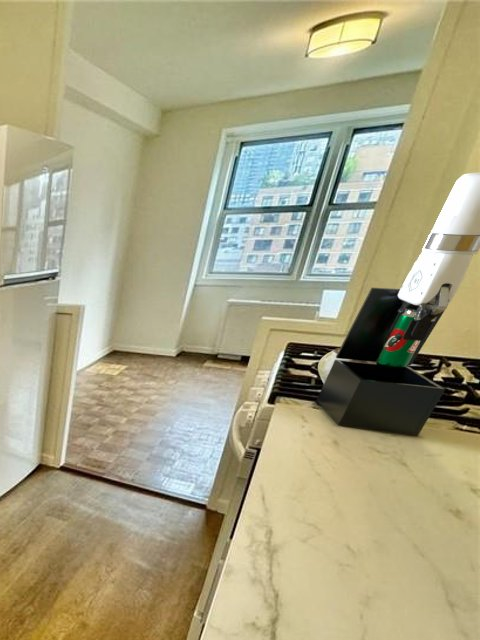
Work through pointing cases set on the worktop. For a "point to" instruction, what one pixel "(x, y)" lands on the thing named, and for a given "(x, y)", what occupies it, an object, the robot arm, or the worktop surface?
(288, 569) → the worktop surface
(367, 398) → the bin
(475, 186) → the robot arm
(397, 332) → the soda can
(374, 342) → the bin lid
